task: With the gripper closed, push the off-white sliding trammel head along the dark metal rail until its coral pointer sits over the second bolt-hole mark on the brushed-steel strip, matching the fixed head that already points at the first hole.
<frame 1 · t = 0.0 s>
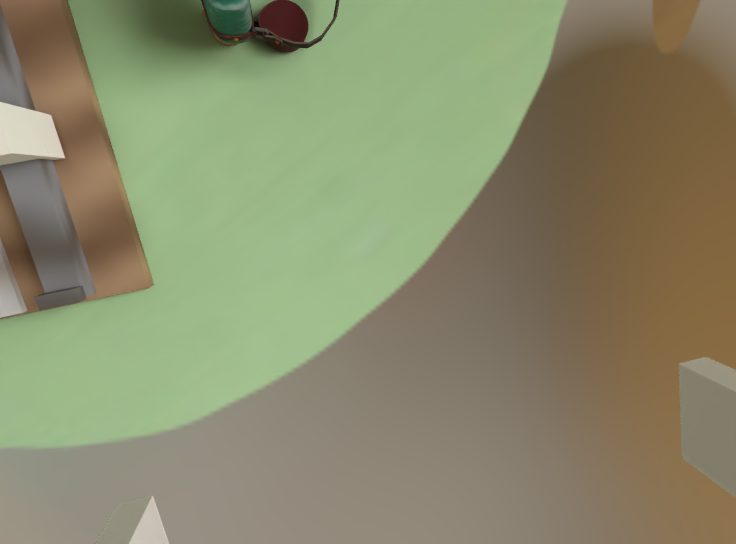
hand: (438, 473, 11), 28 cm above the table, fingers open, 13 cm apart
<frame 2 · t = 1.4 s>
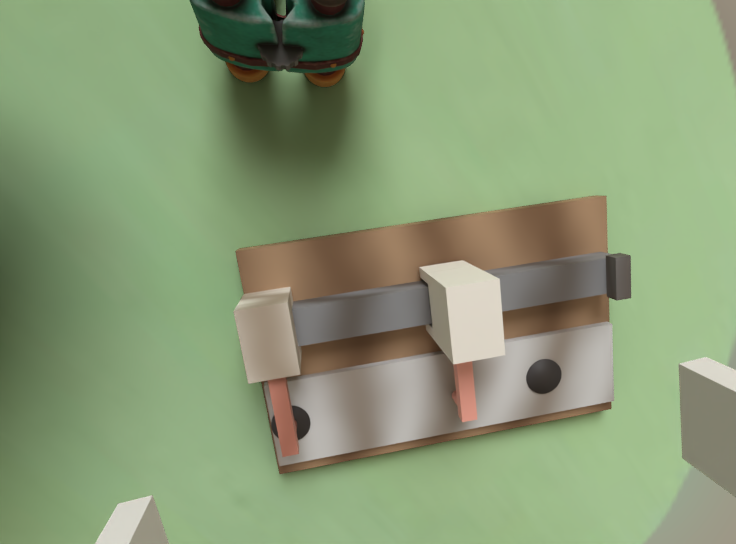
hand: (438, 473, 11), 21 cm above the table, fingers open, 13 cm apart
gauge: (435, 331, 32), on the table
slider head: (462, 348, 28), point 4 cm above the table, slide at 3.5 cm
binoculars: (286, 9, 28), on the table
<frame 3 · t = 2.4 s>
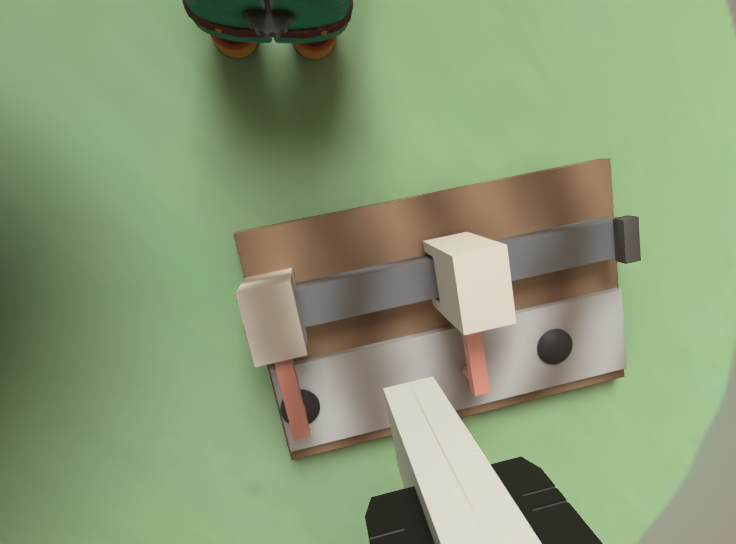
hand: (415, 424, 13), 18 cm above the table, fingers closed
gauge: (442, 307, 32), on the table
slider head: (471, 321, 27), point 4 cm above the table, slide at 3.5 cm
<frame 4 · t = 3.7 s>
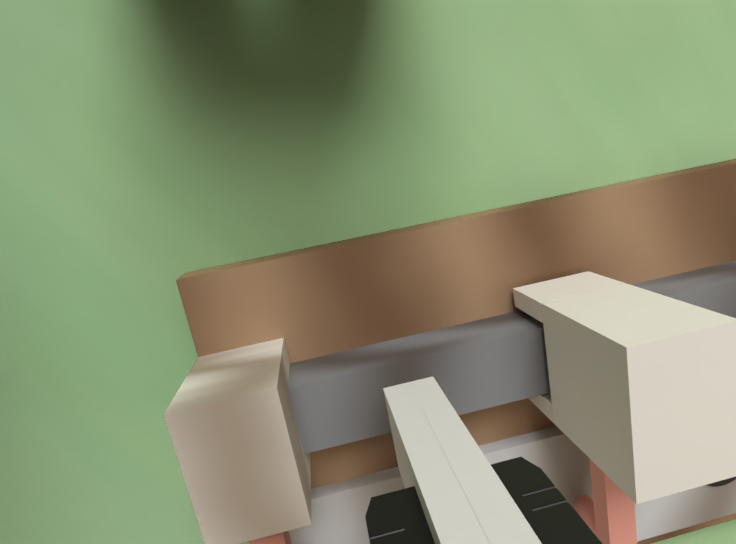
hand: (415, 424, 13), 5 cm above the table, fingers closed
gauge: (533, 391, 19), on the table
slider head: (613, 441, 15), point 4 cm above the table, slide at 3.5 cm
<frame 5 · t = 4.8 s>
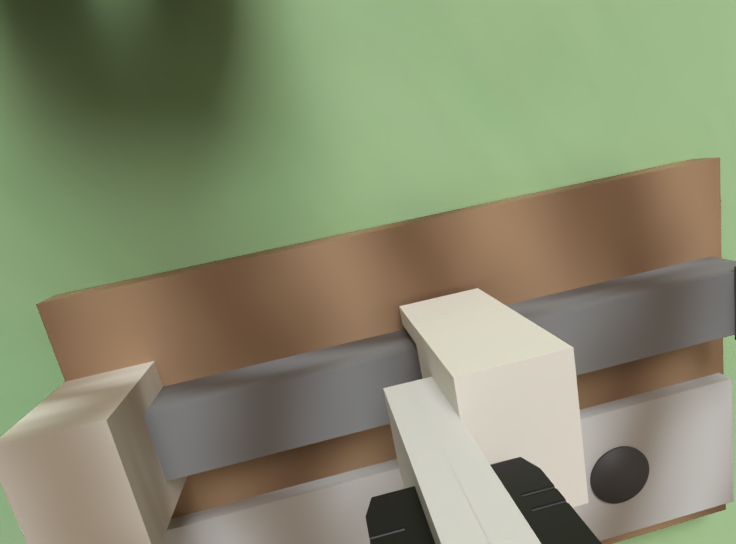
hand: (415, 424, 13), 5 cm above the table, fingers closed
gauge: (430, 409, 19), on the table
slider head: (489, 463, 15), point 4 cm above the table, slide at 3.8 cm, touching gripper
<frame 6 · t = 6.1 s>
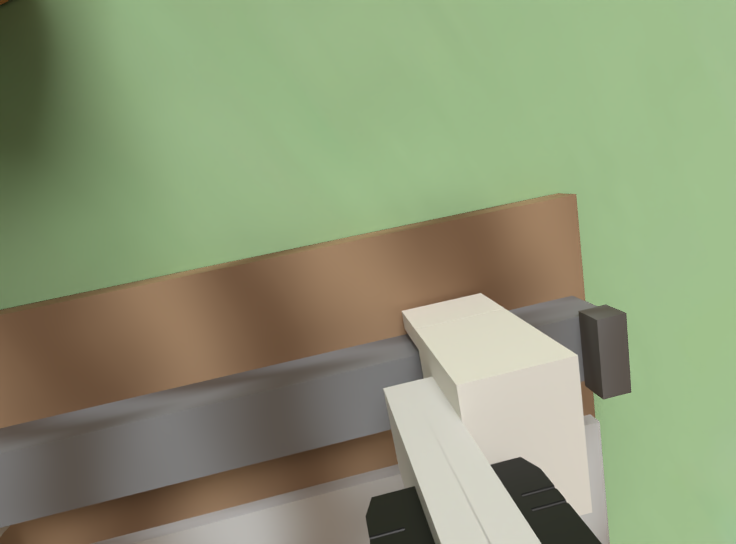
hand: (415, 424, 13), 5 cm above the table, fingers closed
gauge: (288, 450, 18), on the table
slider head: (492, 470, 15), point 4 cm above the table, slide at 9.8 cm, touching gripper
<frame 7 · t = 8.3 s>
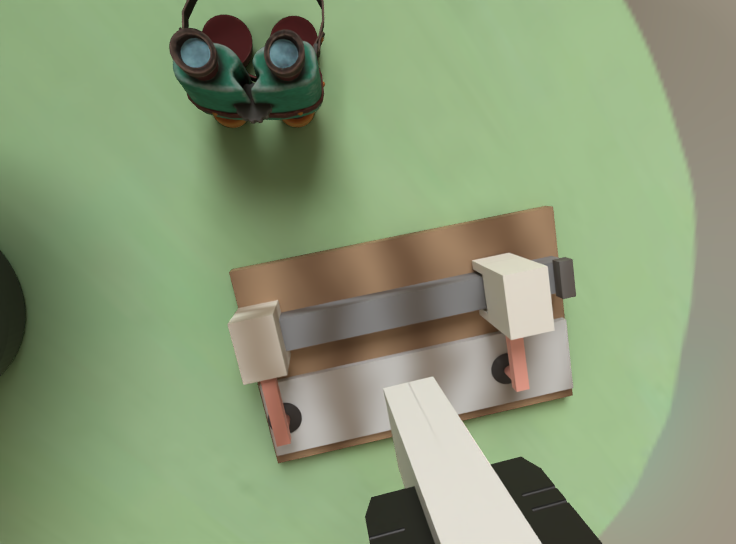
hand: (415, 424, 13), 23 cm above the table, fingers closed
gauge: (409, 333, 37), on the table
slider head: (514, 328, 33), point 4 cm above the table, slide at 10.0 cm
binoculars: (261, 63, 32), on the table
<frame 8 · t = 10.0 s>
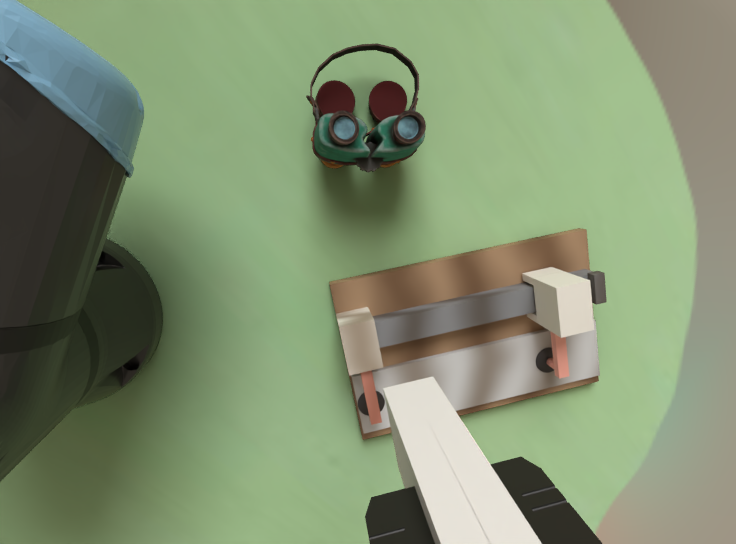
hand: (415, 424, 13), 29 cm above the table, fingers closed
gauge: (468, 332, 45), on the table
slider head: (558, 328, 41), point 4 cm above the table, slide at 10.0 cm
binoculars: (357, 116, 40), on the table
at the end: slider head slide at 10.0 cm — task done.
